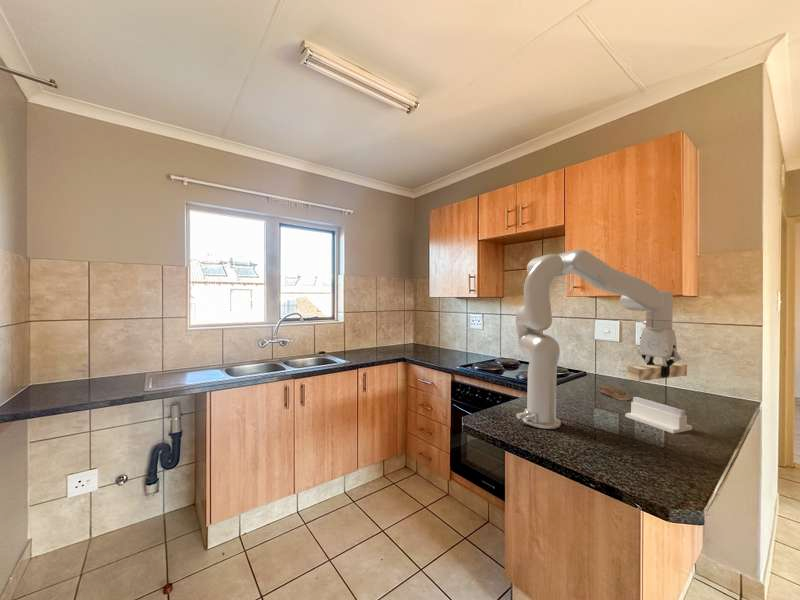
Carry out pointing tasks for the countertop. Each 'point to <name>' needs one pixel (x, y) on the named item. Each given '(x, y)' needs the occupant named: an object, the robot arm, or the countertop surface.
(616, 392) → the wooden fragment
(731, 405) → the countertop surface
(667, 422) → the ridge stand
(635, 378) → the birch rod
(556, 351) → the robot arm
